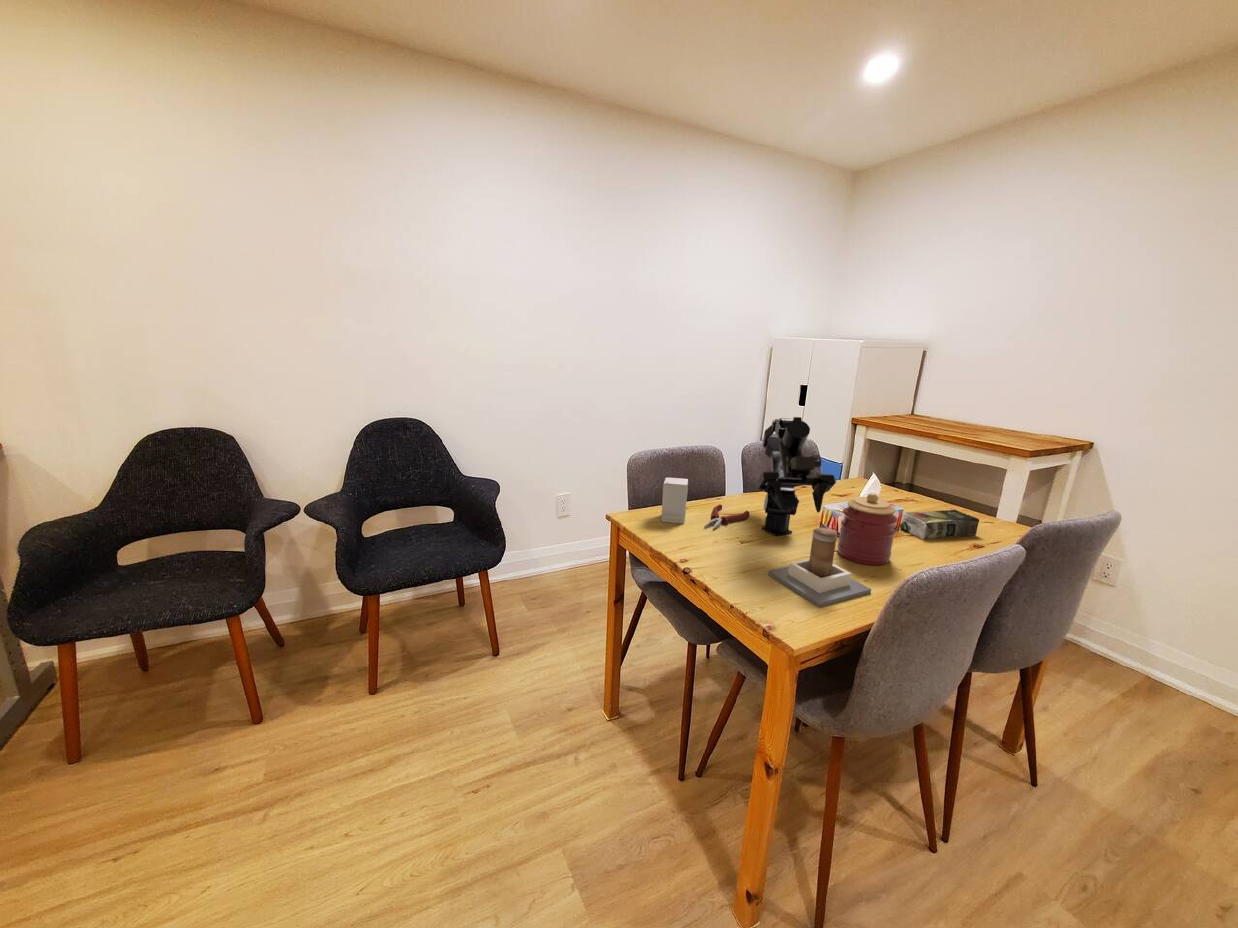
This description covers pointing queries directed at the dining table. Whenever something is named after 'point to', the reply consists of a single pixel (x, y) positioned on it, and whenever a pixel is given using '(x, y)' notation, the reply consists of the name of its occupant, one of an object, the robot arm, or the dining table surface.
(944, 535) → the juice carton
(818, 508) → the robot arm
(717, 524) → the pliers
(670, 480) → the supplement box
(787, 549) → the dining table surface
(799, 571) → the docking plate
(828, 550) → the brown upright cylinder
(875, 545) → the canister
